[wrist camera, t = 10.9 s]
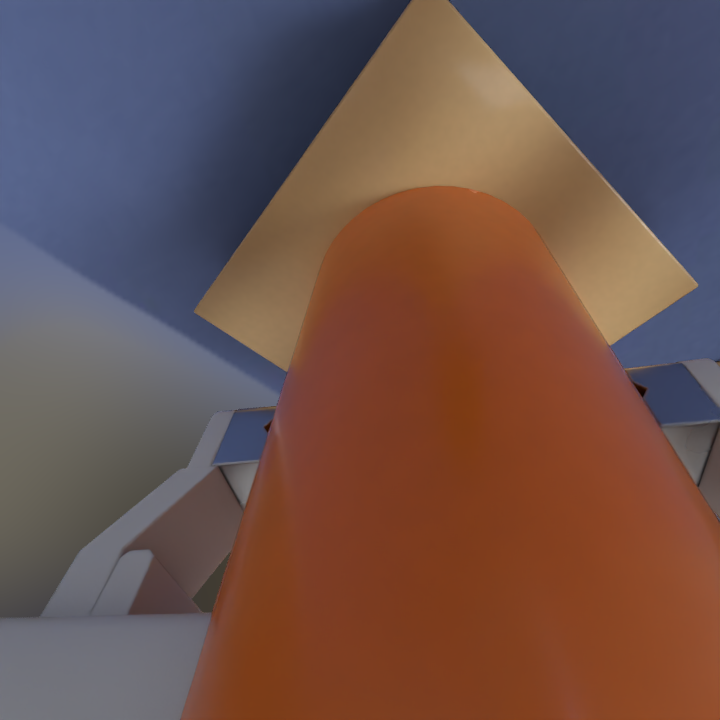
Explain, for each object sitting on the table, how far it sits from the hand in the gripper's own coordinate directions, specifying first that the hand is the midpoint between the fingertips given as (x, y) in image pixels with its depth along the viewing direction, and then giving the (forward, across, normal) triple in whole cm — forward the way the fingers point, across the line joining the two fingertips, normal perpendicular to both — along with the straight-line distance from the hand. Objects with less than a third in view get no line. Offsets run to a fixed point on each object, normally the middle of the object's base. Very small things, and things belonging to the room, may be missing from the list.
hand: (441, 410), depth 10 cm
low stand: (+7, 0, 0) cm, 7 cm away
